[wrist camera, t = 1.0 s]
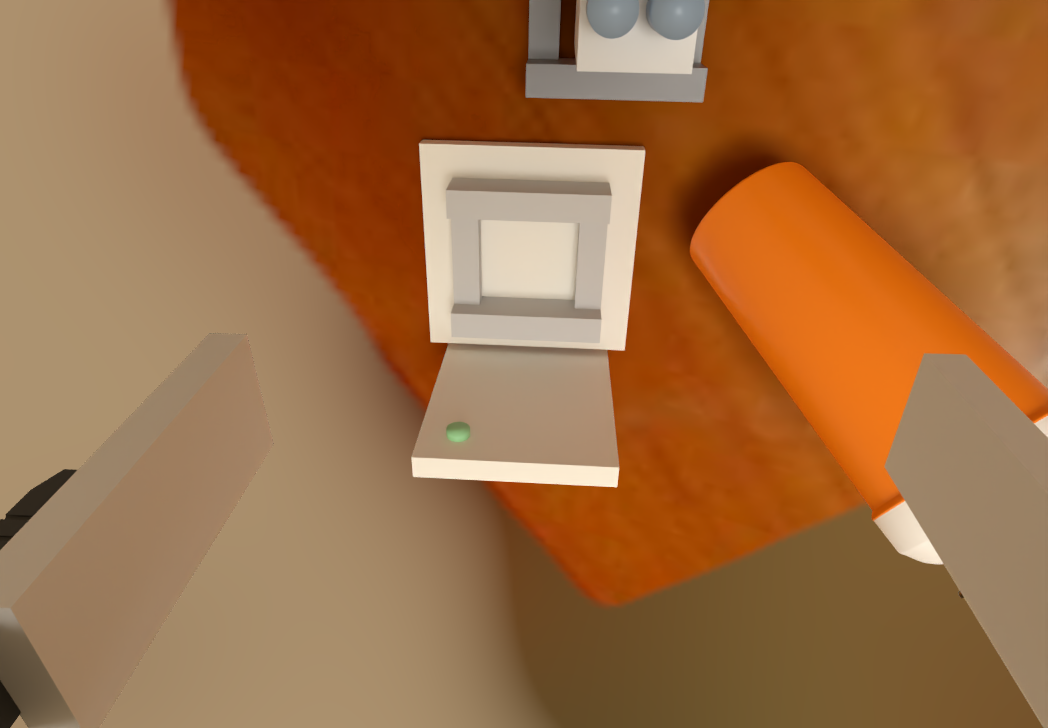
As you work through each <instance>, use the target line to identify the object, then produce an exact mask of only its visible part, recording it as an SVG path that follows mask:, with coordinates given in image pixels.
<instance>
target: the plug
mask: <svg viewBox="0 0 1048 728" xmlns="http://www.w3.org/2000/svg"><path fill="white" fill-rule="evenodd" d="M704 12H705V4H704V0H576V16H575V37H574V45H575V57H576V69H577V71H586V72H626V73H665V74H692V68H693V60H694V53H695V45H696V37H697V30H698V27H699V26H700V24H701V22H702V20H703V17H704Z"/></svg>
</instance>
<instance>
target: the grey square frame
mask: <svg viewBox="0 0 1048 728" xmlns="http://www.w3.org/2000/svg"><path fill="white" fill-rule="evenodd" d="M704 4H705V12H704V17H703V20H702V22H701V24H700V26H699V27H698V30H697V37H696V45H695V53H694V60H693V68H692V74H665V73H626V72H586V71H577V69H576V58H559V38H560V13H561V0H529V51H528V61H527V63H526V97H527V98H564V99H600V100H637V101H674V102H703V98H704V91H705V84H706V77H707V70H708V68H707V67H705V66H704V65H702V64H701V56H702V49H703V42H704V34H705V27H706V19H707V12H708V5H709V0H704Z"/></svg>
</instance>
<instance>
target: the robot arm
mask: <svg viewBox="0 0 1048 728" xmlns="http://www.w3.org/2000/svg"><path fill="white" fill-rule="evenodd" d="M273 444H274V443H273V439H272V435H271V431H270V427H269V422H268V419H267V414H266V410H265V407H264V402H263V398H262V394H261V390H260V386H259V382H258V377H257V373H256V369H255V365H254V361H253V357H252V353H251V349H250V344H249V340H248V336H247V334H221V333H210V334H208V335H207V337H206V338H205V339H204V340H203V341H202V342H201V343H200V344H199V345H198V346H197V347H196V348H195V349H194V350H193V351H192V352H191V353H190V354H189V355H188V356H187V357H186V358H185V360H184V361H182V362H181V364H180V365H179V366H178V367H177V368H176V369H175V370H174V371H173V372H172V373H171V374H170V375H169V376H168V377H167V378H166V379H165V380H164V381H163V382H162V383H161V384H160V385H159V386H158V387H157V388H156V389H155V390H154V392H153V393H152V394H151V395H150V396H149V397H148V398H147V399H146V400H145V401H144V402H143V403H142V404H141V405H140V406H139V407H138V408H137V409H136V410H135V411H134V412H133V413H132V414H131V415H130V416H129V417H128V419H126V420H125V421H124V423H123V424H122V425H121V426H120V427H119V428H118V429H117V430H116V431H115V432H114V433H113V434H112V435H111V436H110V437H109V438H108V439H107V440H106V441H105V442H104V443H103V444H102V445H101V446H100V447H99V448H98V449H97V450H96V452H95V453H94V454H93V455H92V456H91V457H90V458H89V459H88V460H87V461H86V462H85V463H84V464H83V465H82V466H81V467H80V468H79V469H78V470H67V469H65V470H63V471H61V472H59V473H57V474H56V475H54V476H53V477H51V478H49V479H48V480H47V481H44V482H43V483H41V484H40V485H38V486H36V487H35V488H33V489H32V490H30V491H29V492H28V493H27V494H26V495H25V496H24V497H23V498H22V499H21V500H20V501H19V502H18V503H17V504H16V505H15V506H14V507H13V508H12V509H11V510H10V511H9V512H8V513H7V514H6V518H5V520H3V519H1V520H0V728H10V727H11V726H12V724H13V723H14V722H15V720H16V719H17V717H18V716H19V715H20V716H21V717H22V719H23V720H24V722H25V723H26V725H27V726H28V728H100V726H101V724H102V723H103V721H104V720H105V718H106V716H107V715H108V713H109V711H110V710H111V708H112V706H113V705H114V703H115V702H116V700H117V698H118V697H119V695H120V693H121V692H122V690H123V689H124V687H125V685H126V684H127V682H128V680H129V679H130V677H131V676H132V674H133V672H134V671H135V669H136V667H137V666H138V664H139V662H140V661H141V659H142V658H143V656H144V654H145V653H146V651H147V650H148V648H149V646H150V644H151V643H152V641H153V640H154V638H155V636H156V635H157V633H158V632H159V630H160V628H161V627H162V625H163V623H164V622H165V620H166V619H167V617H168V615H169V614H170V612H171V610H172V609H173V607H174V605H175V604H176V602H177V600H178V599H179V597H180V596H181V594H182V592H183V591H184V589H185V588H186V586H187V584H188V583H189V581H190V579H191V578H192V576H193V575H194V573H195V571H196V570H197V568H198V567H199V565H200V563H201V561H202V560H203V558H204V557H205V555H206V553H207V552H208V550H209V549H210V547H211V545H212V543H213V542H214V540H215V539H216V537H217V535H218V534H219V532H220V531H221V529H222V527H223V526H224V524H225V522H226V521H227V519H228V518H229V516H230V514H231V513H232V511H233V509H234V508H235V506H236V505H237V503H238V501H239V500H240V498H241V497H242V495H243V493H244V492H245V490H246V488H247V487H248V485H249V483H250V482H251V480H252V479H253V477H254V475H255V474H256V472H257V470H258V469H259V467H260V466H261V464H262V462H263V460H264V459H265V457H266V456H267V454H268V453H269V451H270V449H271V448H272V446H273ZM884 467H885V469H886V470H887V472H888V474H889V475H890V477H891V479H892V480H893V482H894V483H895V485H896V487H897V488H898V490H899V492H900V493H901V495H902V497H903V498H904V500H905V502H906V503H907V505H908V506H909V508H910V510H911V511H912V513H913V515H914V516H915V518H916V520H917V521H918V523H919V524H920V526H921V528H922V529H923V531H924V533H925V534H926V536H927V538H928V539H929V541H930V543H931V544H932V546H933V547H934V549H935V551H936V552H937V554H938V556H939V557H940V559H941V561H942V562H943V564H944V565H945V567H946V569H947V570H948V572H949V573H950V575H951V577H952V578H953V580H954V582H955V584H956V585H957V587H958V588H959V590H960V592H961V593H962V595H963V597H964V598H965V600H966V602H967V603H968V605H969V606H970V608H971V610H972V611H973V613H974V615H975V616H976V618H977V620H978V621H979V623H980V624H981V626H982V628H983V629H984V631H985V633H986V634H987V636H988V638H989V639H990V641H991V642H992V644H993V646H994V647H995V649H996V651H997V652H998V654H999V656H1000V657H1001V659H1002V660H1003V662H1004V664H1005V665H1006V667H1007V669H1008V670H1009V672H1010V674H1011V675H1012V677H1013V679H1014V680H1015V682H1016V684H1017V685H1018V686H1019V688H1020V690H1021V692H1022V693H1023V695H1024V697H1025V698H1026V700H1027V702H1028V703H1029V705H1030V706H1031V708H1032V710H1033V711H1034V713H1035V715H1036V716H1037V718H1038V720H1039V721H1040V723H1041V724H1042V726H1043V728H1048V437H1047V436H1046V435H1045V434H1044V433H1043V432H1042V431H1041V430H1040V429H1039V428H1038V427H1037V426H1036V425H1035V424H1034V423H1033V422H1032V421H1031V420H1030V419H1029V418H1028V417H1027V416H1026V415H1025V414H1024V413H1023V412H1022V411H1021V410H1020V409H1019V408H1018V407H1017V406H1016V405H1015V404H1014V403H1013V402H1012V401H1011V400H1010V399H1009V398H1008V397H1007V396H1006V395H1005V394H1004V393H1003V392H1002V391H1001V390H1000V389H999V388H998V387H997V386H996V385H995V383H994V382H993V381H992V380H991V379H990V378H989V377H988V376H987V375H986V374H985V373H984V372H983V371H982V370H981V369H980V368H979V367H978V366H977V365H976V364H975V363H974V362H973V361H972V360H971V359H970V358H969V357H968V356H967V355H965V354H929V353H924V355H923V358H922V361H921V364H920V366H919V369H918V372H917V375H916V378H915V381H914V383H913V386H912V389H911V392H910V395H909V398H908V401H907V403H906V406H905V409H904V412H903V415H902V418H901V421H900V423H899V426H898V429H897V432H896V435H895V438H894V440H893V443H892V446H891V449H890V452H889V455H888V458H887V460H886V463H885V466H884Z"/></svg>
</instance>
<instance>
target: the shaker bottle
mask: <svg viewBox="0 0 1048 728" xmlns="http://www.w3.org/2000/svg"><path fill="white" fill-rule="evenodd" d="M690 256H691V258H692V260H693V261H694V263H695V264H696V266H697V267H698V268H699V270H700V271H701V273H702V274H703V275H704V277H705V278H706V279H707V281H708V282H709V284H710V285H711V286H712V288H713V289H714V291H715V292H716V293H717V295H718V296H719V298H720V299H721V300H722V302H723V303H724V305H725V306H726V307H727V309H728V310H729V312H730V313H731V314H732V316H733V317H734V319H735V320H736V321H737V323H738V324H739V326H740V327H741V328H742V330H743V331H744V333H745V334H746V335H747V337H748V338H749V339H750V341H751V342H752V344H753V345H754V346H755V348H756V349H757V351H758V352H759V353H760V355H761V356H762V358H763V359H764V360H765V362H766V363H767V365H768V366H769V367H770V369H771V370H772V372H773V373H774V374H775V376H776V377H777V379H778V380H779V381H780V383H781V384H782V386H783V387H784V388H785V390H786V391H787V393H788V394H789V395H790V397H791V398H792V399H793V401H794V402H795V404H796V405H797V406H798V408H799V409H800V411H801V412H802V413H803V415H804V416H805V418H806V419H807V420H808V422H809V423H810V425H811V426H812V427H813V429H814V430H815V432H816V433H817V434H818V436H819V437H820V439H821V440H822V441H823V443H824V444H825V446H826V447H827V448H828V450H829V451H830V453H831V454H832V455H833V457H834V458H835V459H836V461H837V462H838V464H839V465H840V466H841V468H842V469H843V471H844V472H845V473H846V475H847V476H848V478H849V479H850V480H851V482H852V483H853V485H854V486H855V487H856V489H857V490H858V492H859V493H860V494H861V496H862V497H863V499H864V500H865V501H866V503H867V504H868V506H869V507H870V508H871V510H872V520H873V521H874V522H875V523H876V524H877V526H878V527H879V528H880V529H881V531H882V532H883V533H884V534H885V536H886V537H887V538H888V540H889V541H890V542H891V543H892V545H893V546H894V547H895V548H896V550H897V551H898V552H899V553H901V554H904V555H906V556H909V557H911V558H913V559H916V560H918V561H921V562H924V563H932V564H943V562H942V561H941V559H940V557H939V556H938V554H937V552H936V551H935V549H934V547H933V546H932V544H931V543H930V541H929V539H928V538H927V536H926V534H925V533H924V531H923V529H922V528H921V526H920V524H919V523H918V521H917V520H916V518H915V516H914V515H913V513H912V511H911V510H910V508H909V506H908V505H907V503H906V502H905V500H904V498H903V497H902V495H901V493H900V492H899V490H898V488H897V487H896V485H895V483H894V482H893V480H892V479H891V477H890V475H889V474H888V472H887V470H886V469H885V467H884V466H885V463H886V460H887V458H888V455H889V452H890V449H891V446H892V443H893V440H894V438H895V435H896V432H897V429H898V426H899V423H900V421H901V418H902V415H903V412H904V409H905V406H906V403H907V401H908V398H909V395H910V392H911V389H912V386H913V383H914V381H915V378H916V375H917V372H918V369H919V366H920V364H921V361H922V358H923V355H924V353H929V354H965V355H967V356H968V357H969V358H970V359H971V360H972V361H973V362H974V363H975V364H976V365H977V366H978V367H979V368H980V369H981V370H982V371H983V372H984V373H985V374H986V375H987V376H988V377H989V378H990V379H991V380H992V381H993V382H994V383H995V385H996V386H997V387H998V388H999V389H1000V390H1001V391H1002V392H1003V393H1004V394H1005V395H1006V396H1007V397H1008V398H1009V399H1010V400H1011V401H1012V402H1013V403H1014V404H1015V405H1016V406H1017V407H1018V408H1019V409H1020V410H1021V411H1022V412H1023V413H1024V414H1025V415H1026V416H1027V417H1028V418H1029V419H1030V420H1031V421H1032V422H1033V423H1034V424H1035V425H1036V426H1037V427H1038V428H1039V429H1040V430H1041V431H1042V432H1043V433H1044V434H1045V435H1046V436H1047V437H1048V389H1047V388H1046V387H1045V386H1044V385H1043V384H1042V383H1041V382H1039V381H1038V380H1037V379H1036V378H1035V377H1034V376H1033V375H1032V374H1031V373H1030V372H1028V371H1027V370H1026V369H1025V368H1024V367H1023V366H1022V365H1021V364H1020V363H1019V362H1017V361H1016V360H1015V359H1014V358H1013V357H1012V356H1011V355H1010V354H1009V353H1008V352H1007V351H1005V350H1004V349H1003V348H1002V347H1001V346H1000V345H999V344H998V343H997V342H996V341H994V340H993V339H992V338H991V337H990V336H989V335H988V334H987V333H986V332H985V331H983V330H982V329H981V328H980V327H979V326H978V325H977V324H976V323H975V322H974V321H972V320H971V319H970V318H969V317H968V316H967V315H966V314H965V313H964V312H963V311H962V310H960V309H959V308H958V307H957V306H956V305H955V304H954V303H953V302H952V301H951V300H949V299H948V298H947V297H946V296H945V295H944V294H943V293H942V292H941V291H940V290H938V289H937V288H936V287H935V286H934V285H933V284H932V283H931V282H930V281H929V280H927V279H926V278H925V277H924V276H923V275H922V274H921V273H920V272H919V271H918V270H917V269H915V268H914V267H913V266H912V265H911V264H910V263H909V262H908V261H907V260H906V259H904V258H903V257H902V256H901V255H900V254H899V253H898V252H897V251H896V250H895V249H893V248H892V247H891V246H890V245H889V244H888V243H887V242H886V241H885V240H884V239H883V238H881V237H880V236H879V235H878V234H877V233H876V232H875V231H874V230H873V229H872V228H870V227H869V226H868V225H867V224H866V223H865V222H864V221H863V220H862V219H861V218H859V217H858V216H857V215H856V214H855V213H854V212H853V211H852V210H851V209H850V208H848V207H847V206H846V205H845V204H844V203H843V202H842V201H841V200H840V199H839V198H838V197H836V196H835V195H834V194H833V193H832V192H831V191H830V190H829V189H828V188H827V187H825V186H824V185H823V184H822V183H821V182H820V181H819V180H818V179H817V178H816V177H814V176H813V175H812V174H811V173H810V172H809V171H808V170H807V169H806V168H805V167H803V166H802V165H800V164H798V163H796V162H782V163H776V164H773V165H770V166H767V167H765V168H763V169H761V170H759V171H757V172H755V173H753V174H752V175H750V176H748V177H747V178H745V179H743V180H742V181H741V182H739V183H738V184H737V185H735V186H734V187H733V188H731V189H730V190H729V191H728V192H727V193H726V194H725V195H723V196H722V197H721V198H720V199H719V200H718V201H717V202H716V203H715V204H714V205H713V206H712V208H711V209H710V210H709V211H708V212H707V214H706V215H705V216H704V217H703V219H702V220H701V222H700V223H699V225H698V227H697V228H696V230H695V232H694V235H693V237H692V240H691V244H690ZM958 594H959V596H960V597H961V598H964V597H963V595H962V593H961V592H960V591H959V592H958Z"/></svg>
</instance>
